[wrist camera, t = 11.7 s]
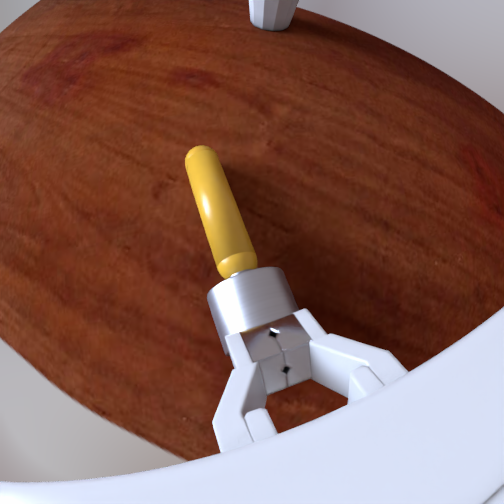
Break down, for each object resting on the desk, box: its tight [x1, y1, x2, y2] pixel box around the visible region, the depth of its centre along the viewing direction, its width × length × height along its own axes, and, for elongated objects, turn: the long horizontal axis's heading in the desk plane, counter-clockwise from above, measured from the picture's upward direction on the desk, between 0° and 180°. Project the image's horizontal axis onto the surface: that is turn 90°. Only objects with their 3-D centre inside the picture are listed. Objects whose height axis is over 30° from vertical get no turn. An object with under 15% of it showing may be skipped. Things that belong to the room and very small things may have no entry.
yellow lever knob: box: [185, 146, 299, 356], centre depth 20 cm, size 5×5×14 cm
